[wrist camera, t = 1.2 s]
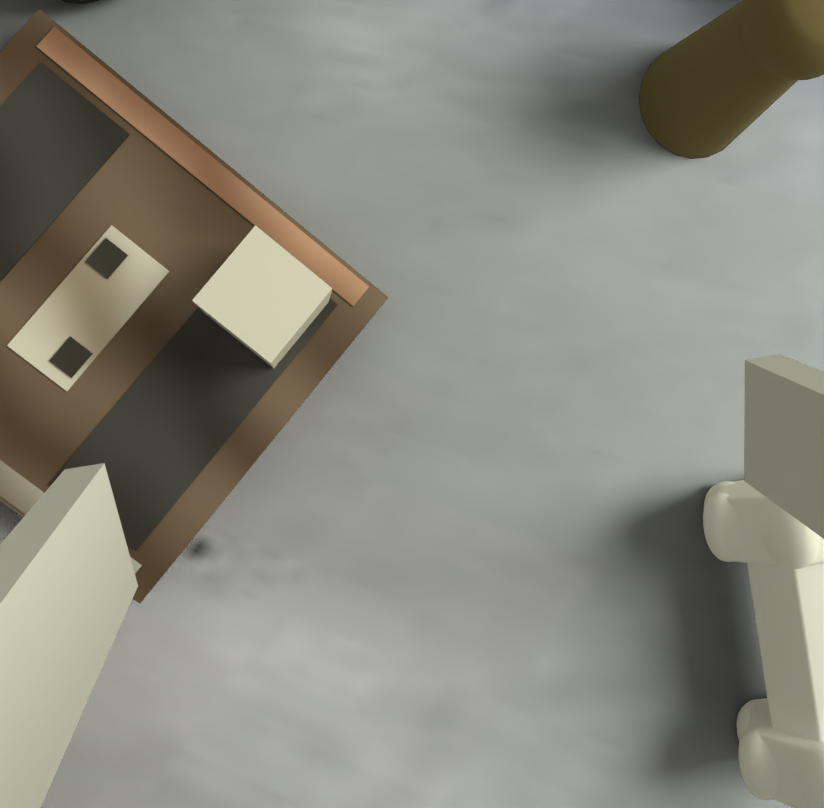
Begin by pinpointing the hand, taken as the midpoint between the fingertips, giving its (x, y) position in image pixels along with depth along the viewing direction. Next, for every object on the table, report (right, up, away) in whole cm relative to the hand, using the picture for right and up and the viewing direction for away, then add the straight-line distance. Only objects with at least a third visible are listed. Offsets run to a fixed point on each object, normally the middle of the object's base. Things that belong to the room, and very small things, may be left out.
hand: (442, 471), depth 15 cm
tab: (-7, +6, +20) cm, 22 cm away
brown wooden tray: (-15, +6, +21) cm, 26 cm away
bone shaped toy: (+18, -10, +26) cm, 33 cm away
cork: (+14, +17, +25) cm, 34 cm away
